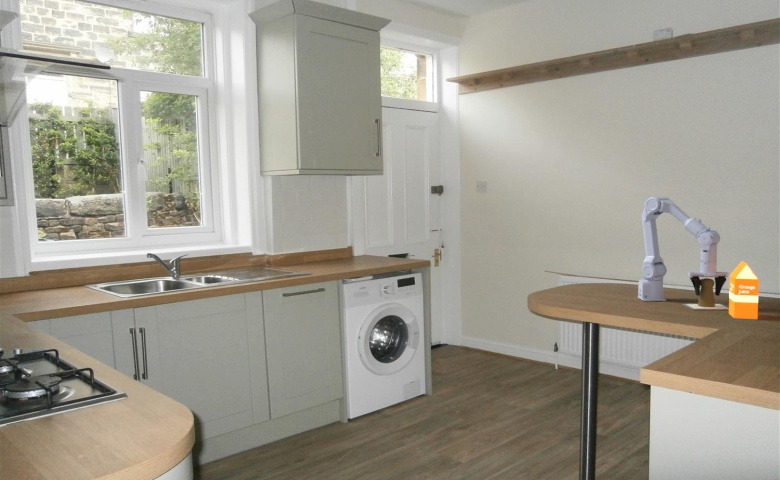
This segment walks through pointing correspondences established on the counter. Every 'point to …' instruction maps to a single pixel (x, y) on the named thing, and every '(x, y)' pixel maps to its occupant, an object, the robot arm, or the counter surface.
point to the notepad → (696, 307)
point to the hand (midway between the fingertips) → (707, 295)
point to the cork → (706, 293)
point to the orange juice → (743, 293)
